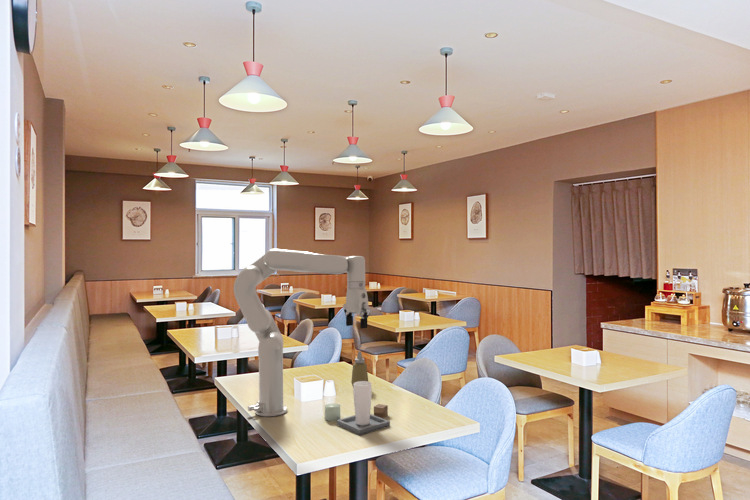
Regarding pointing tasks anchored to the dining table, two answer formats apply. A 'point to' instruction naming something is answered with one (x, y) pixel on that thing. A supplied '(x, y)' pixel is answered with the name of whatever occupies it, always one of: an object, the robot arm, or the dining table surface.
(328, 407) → the pale green rounded cylinder
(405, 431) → the dining table surface
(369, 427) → the slate tray
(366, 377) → the squeeze bottle
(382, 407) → the walnut block
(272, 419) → the dining table surface
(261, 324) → the robot arm
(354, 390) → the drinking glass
